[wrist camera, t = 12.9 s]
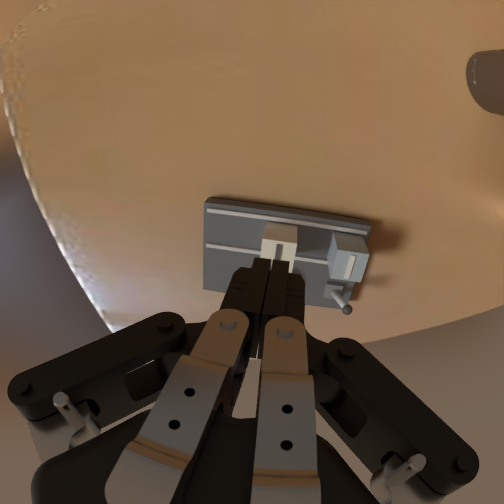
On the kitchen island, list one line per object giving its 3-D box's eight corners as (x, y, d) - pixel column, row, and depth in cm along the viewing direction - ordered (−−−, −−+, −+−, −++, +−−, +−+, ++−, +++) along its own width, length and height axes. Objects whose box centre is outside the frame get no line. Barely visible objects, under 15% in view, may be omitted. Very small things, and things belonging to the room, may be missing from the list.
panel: (368, 220, 39) (380, 244, 33) (344, 301, 46) (349, 332, 40) (208, 197, 40) (192, 217, 34) (206, 281, 47) (194, 310, 41)
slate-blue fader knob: (361, 235, 38) (369, 255, 33) (354, 261, 40) (361, 283, 35) (333, 231, 38) (337, 250, 34) (326, 257, 40) (330, 279, 36)
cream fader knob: (297, 225, 39) (297, 244, 34) (292, 252, 41) (291, 273, 36) (266, 221, 39) (262, 239, 34) (263, 248, 41) (258, 269, 36)
